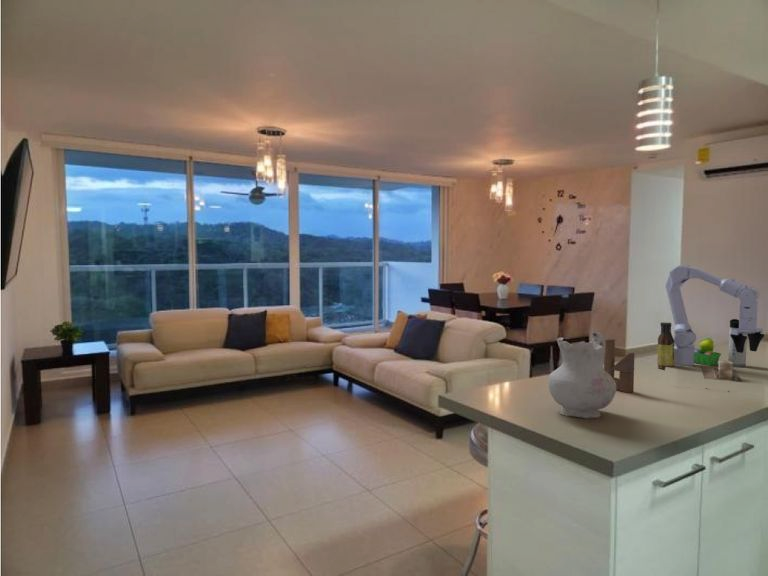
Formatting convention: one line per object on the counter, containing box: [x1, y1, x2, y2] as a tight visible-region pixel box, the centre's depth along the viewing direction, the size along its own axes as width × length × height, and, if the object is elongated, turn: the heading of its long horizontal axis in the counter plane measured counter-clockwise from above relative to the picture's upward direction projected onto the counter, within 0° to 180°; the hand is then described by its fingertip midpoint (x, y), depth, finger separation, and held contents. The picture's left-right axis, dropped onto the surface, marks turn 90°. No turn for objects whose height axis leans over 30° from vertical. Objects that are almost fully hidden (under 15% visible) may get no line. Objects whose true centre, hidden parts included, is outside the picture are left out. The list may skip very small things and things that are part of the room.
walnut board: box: [700, 366, 743, 383], centre depth 197 cm, size 12×22×2 cm, turn 150°
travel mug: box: [727, 318, 748, 368], centre depth 218 cm, size 6×7×20 cm
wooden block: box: [603, 337, 635, 394], centre depth 181 cm, size 4×11×18 cm, turn 31°
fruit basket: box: [694, 337, 722, 366], centre depth 223 cm, size 11×9×11 cm
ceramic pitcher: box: [547, 330, 617, 420], centre depth 155 cm, size 22×20×25 cm
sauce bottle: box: [657, 321, 675, 370], centre depth 213 cm, size 6×6×20 cm
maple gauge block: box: [717, 359, 734, 380], centre depth 191 cm, size 5×5×6 cm
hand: (746, 351), depth 200 cm, fingers open, 7 cm apart
